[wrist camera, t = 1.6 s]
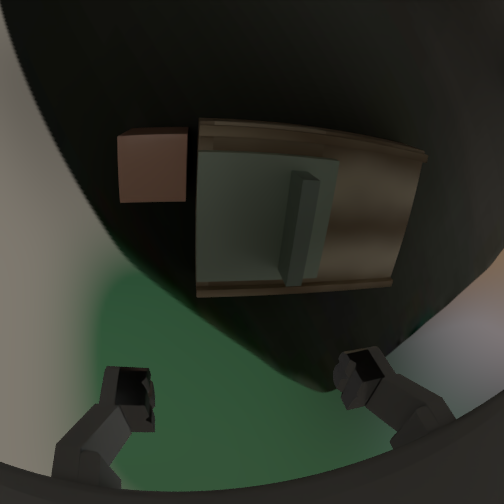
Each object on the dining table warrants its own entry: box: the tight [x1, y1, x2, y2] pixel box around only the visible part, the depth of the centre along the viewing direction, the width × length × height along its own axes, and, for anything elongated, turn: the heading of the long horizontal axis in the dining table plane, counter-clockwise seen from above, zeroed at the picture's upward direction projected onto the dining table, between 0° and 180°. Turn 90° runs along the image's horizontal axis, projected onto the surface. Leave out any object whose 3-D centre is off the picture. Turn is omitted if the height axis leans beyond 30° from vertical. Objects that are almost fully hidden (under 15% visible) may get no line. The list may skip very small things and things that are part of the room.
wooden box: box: [195, 118, 428, 297], centre depth 25 cm, size 14×19×4 cm
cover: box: [196, 150, 340, 287], centre depth 21 cm, size 10×10×3 cm
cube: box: [117, 127, 189, 203], centre depth 20 cm, size 4×4×5 cm
